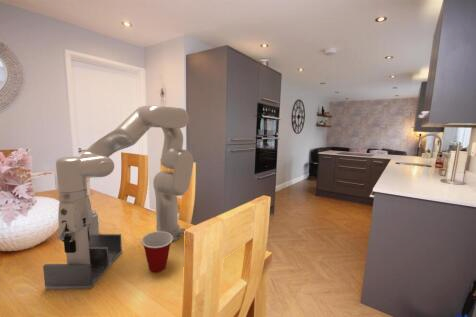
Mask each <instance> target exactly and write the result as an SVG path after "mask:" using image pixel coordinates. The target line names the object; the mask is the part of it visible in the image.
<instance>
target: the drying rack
mask: <svg viewBox="0 0 476 317" xmlns="http://www.w3.org/2000/svg"><path fill="white" fill-rule="evenodd" d="M89 238H90V240H89V241H88V242H89V254H90V264H67V263H46V264H44V265H43V266H42V270H43V279H44V287H45V290H91V289H92V288H93V287H94V286H95V285H96V284H97V282H98V281H99V280H100V279H101V278H102V276H104V275H105V273H106V272H107V271H108V270H109V268H110V267H111V266H112V265H113V263H114V262H116V260H117V259H118V258H119V256H121V254H122V253H123V248H122V234H121V233H116V234H115V233H99V234H89Z"/></svg>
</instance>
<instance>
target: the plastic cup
mask: <svg viewBox="0 0 476 317" xmlns="http://www.w3.org/2000/svg"><path fill="white" fill-rule="evenodd" d="M172 240H173V236H172V235H171V234H170V233H167V232H162V231H158V232H157V231H153V232H149V233H147V234H145V235H143V237H142V238H141V244H142V245H143V248H144V252H145V258H146V262H147V266H148V269H149V271H150V272H151V273H155V274H156V273H161V272H163V271H165V269H166V268H167V267H166V266H167V263H168V259H169V252H170V246H171V244H172V243H173V242H172Z"/></svg>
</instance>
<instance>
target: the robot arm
mask: <svg viewBox="0 0 476 317" xmlns="http://www.w3.org/2000/svg"><path fill="white" fill-rule="evenodd" d="M189 122H190V116H189V113H188V112H187V110H186V109H184V108H181V107H173V106H164V105H142V106H139V107H137V108H136V109H134V111H133V112H132V113H131V114H130V115H129V116H128V117H127V118H126V119H125V120H123V122H121V124H119V125H118V126H117V127H116V128H115V129H114V130H111V131H110V132H108V133H107V134H106V135H104V136H102V137H100V138H99V139H97V140H96V141H95V142H93V143H92V144H91V145H90V146H89V147H88V148H87V149H86V150H84V152H82V154H81V155H80V156H66V157H65V156H64V157H60V158H58V159H57V160H56V162H55V168H56V181H57V189H58V190H57V191H58V201H59V203H58V214H57V215H58V229H59V230H58V232H57V234H56V238H57V239H59V240H60V241H61V242H62V243H63V248H64V253H65V254H66V253H75V252H76V242H75V240H74V235H75V233H76V232H78V231H80V230H81V229H82V228H83V227H84V225H85V224H86V225H87V231H88V241H89V240H90V238H89V229H90V226H89V225H90V223H91V222H92V220H93V217H92V210H93V209H92V203H91V200H90V197H89V196H90V195H89V196H88V193H87V179H86V178H90V179H91V178H104V177H108V176H109V175H110V174H112V173H113V172H114V169H115V163H114V160H112V159H111V158H110V157H111V156H112V155H113V154H114V153H117V152H118V151H121V150H124V149H127V148H130V147H132V146H134V145H135V144H137V143H138V142H139V140H140V139H141V138H142V137H143V136H144V135H145V134H146V133H147V132H148V131H149V130H150V129H151V128H161V129H162V132H163V136H164V139H163V146H162V150H161V157H160V164H161V165H162V166H163V167H164V168H166V169H170V170H173V172H172V171H168V170H163V171H162V170H161V171H159V172H157V173H156V174H155V176H154V178H153V188H154V194H155V212H156V215H155V217H156V218H155V219H156V232H158V231H162V232H167V233H170V234H171V235H172V236H173V240H172V242H171V243H173V242H176V241H177V240H179V239H180V238H181V237H182V235H185V234H184V231H185V230H186V228H181V227H180V225H179V222H178V221H179V218H178V216H179V215H178V214H179V213H178V207H179V206H178V197H179V196H183V195H185V194H186V193H187V192H188V191H189V188H190V184H191V181H192V180H191V179H192V173H193V168H194V157H193V155H192V152H190V151H189V150H186V149H183V146H184V134H183V132H182V129H183V128H186V126H187V125H188V124H189ZM85 217H86V219H85V220H86V223H85V224H83V220H82V219H83V218H85ZM67 229H69V231H67ZM67 233H71V235H70V237H69V236H67Z"/></svg>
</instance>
